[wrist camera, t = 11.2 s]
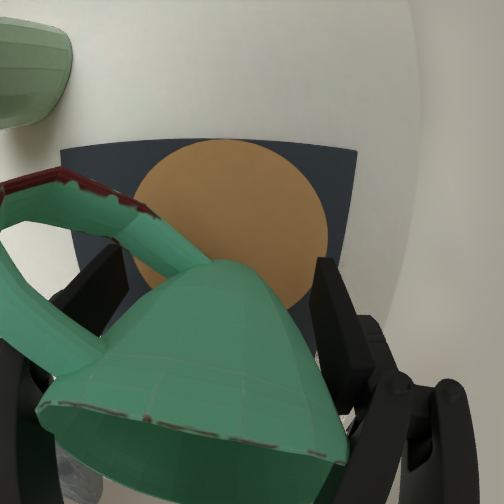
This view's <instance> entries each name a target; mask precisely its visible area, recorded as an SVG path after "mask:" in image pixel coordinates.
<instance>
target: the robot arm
mask: <svg viewBox="0 0 504 504" xmlns="http://www.w3.org/2000/svg"><path fill="white" fill-rule="evenodd" d="M129 290H130V289H129V284H128V279H127V274H126V269H125V264H124V258H123V253H122V247H120V246H119V245H118V244H108V245H107V246H106V247H105V248H104V249H103V250H102V251H101V252H100V253H98V254H97V255H96V256H95V257H94V258H93V259H92V260H91V262H90V263H89V264H88V265H87V266H86V267H85V268H84V269H83V270H82V271H81V272H80V273H79V274H78V275H77V276H76V277H75V278H74V279H73V280H72V281H71V282H70V283H69V285H68V286H67V287H66V288H65V289H64V290H61V291H59V292H57V293H56V294H54V295H53V296H52V297H51V298H50V299H49V302H50V303H51V304H53V305H54V306H55V307H56V308H58V309H59V310H60V311H61V312H63V313H64V314H65V315H67V316H68V317H69V318H71V319H72V320H73V321H75V322H76V323H78V324H79V325H81V326H82V327H83V328H85V329H86V330H88V331H89V332H91V333H92V334H94V335H95V336H97V337H98V338H99V337H100V335H101V334H102V332H103V331H104V329H105V327H106V326H107V324H108V322H109V321H110V319H111V318H112V316H113V315H114V313H115V311H116V310H117V308H118V307H119V305H120V304H121V302H122V301H123V299H124V298H125V296H126V295H127V293H128V292H129ZM309 309H310V314H311V319H312V324H313V330H314V335H315V340H316V346H317V351H318V357H319V363H320V369H321V374H322V376H323V379H324V381H325V383H326V385H327V388H328V390H329V392H330V395H331V397H332V400H333V402H334V405H335V407H336V410H337V412H338V415H348V414H349V413H350V411H351V410H352V408H353V406H354V410H355V415H356V417H355V418H354V419H353V421H352V422H351V424H350V425H349V427H348V428H347V430H346V431H348V433H347V437H348V439H349V442H350V456H349V461H348V464H347V465H346V466H342V465H339V464H335V463H334V464H333V466H332V468H331V470H330V472H329V474H328V476H327V478H326V480H325V482H324V484H323V486H322V488H321V490H320V492H319V493H318V495H317V497H316V499H315V501H314V502H313V504H385V503H386V501H387V498H388V495H389V493H390V490H391V487H392V484H393V481H394V478H395V475H396V472H397V468H398V465H399V462H400V458H401V480H400V492H399V493H400V494H399V503H398V504H480V492H479V472H478V460H477V452H476V444H475V437H474V431H473V425H472V419H471V414H470V409H469V405H468V400H467V395H466V392H465V390H464V388H463V387H462V385H461V384H460V383H459V382H457V381H455V380H453V379H443V380H441V381H440V382H438V384H437V385H436V386H435V388H433V387H427V386H420V385H416V384H414V383H413V381H412V379H411V378H410V377H409V376H408V375H406V374H405V373H403V372H400V371H399V370H398V368H397V366H396V363H395V361H394V358H393V356H392V353H391V351H390V349H389V346H388V344H387V343H386V339H385V337H384V335H383V332H382V330H381V328H380V326H379V323H378V322H377V321H376V320H375V319H374V318H373V317H372V316H371V315H357V314H356V312H355V309H354V307H353V304H352V302H351V299H350V297H349V294H348V292H347V289H346V287H345V284H344V282H343V280H342V277H341V275H340V273H339V270H338V268H337V266H336V263H335V261H334V259H333V258H331V257H317V262H316V267H315V273H314V278H313V283H312V289H311V294H310V299H309ZM53 382H54V378H53V376H52V374H50V373H49V372H47V371H46V370H44V369H43V368H41V367H40V366H38V365H37V364H36V363H34V362H33V361H31V360H30V359H29V358H27V357H26V356H24V355H23V354H22V353H20V352H19V351H18V350H17V349H15V348H14V347H13V346H11V345H10V344H9V343H8V342H6V341H5V340H4V339H3V338H2V337H1V338H0V504H64V501H63V496H62V491H61V486H60V480H59V473H58V466H57V457H56V447H55V434H53V433H51V432H49V431H47V430H45V429H44V428H43V427H41V424H40V422H39V419H38V417H37V414H36V412H35V409H36V407H37V406H38V404H39V402H40V400H41V398H42V397H43V395H44V393H45V392H46V391H47V389H48V388H49V387H50V385H51V384H52V383H53Z"/></svg>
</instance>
